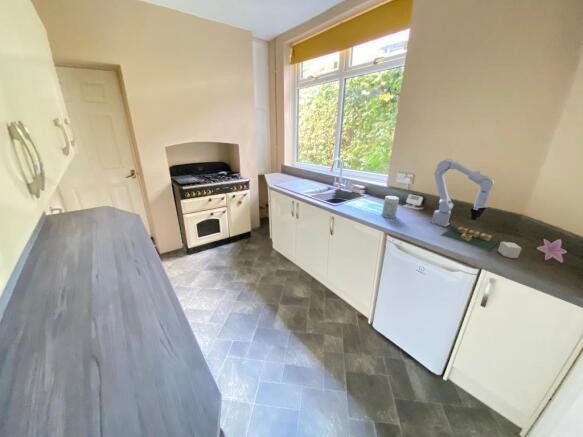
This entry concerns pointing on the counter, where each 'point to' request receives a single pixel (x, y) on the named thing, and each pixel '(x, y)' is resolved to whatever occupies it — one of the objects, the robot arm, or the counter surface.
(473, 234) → the letter t
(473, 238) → the word mat
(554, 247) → the lily
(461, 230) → the letter i
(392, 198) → the supplement tub
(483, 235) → the letter s
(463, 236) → the letter o
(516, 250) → the white cube
